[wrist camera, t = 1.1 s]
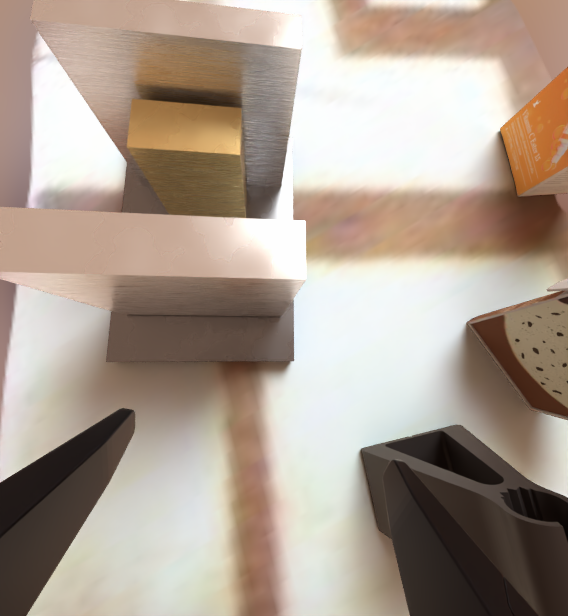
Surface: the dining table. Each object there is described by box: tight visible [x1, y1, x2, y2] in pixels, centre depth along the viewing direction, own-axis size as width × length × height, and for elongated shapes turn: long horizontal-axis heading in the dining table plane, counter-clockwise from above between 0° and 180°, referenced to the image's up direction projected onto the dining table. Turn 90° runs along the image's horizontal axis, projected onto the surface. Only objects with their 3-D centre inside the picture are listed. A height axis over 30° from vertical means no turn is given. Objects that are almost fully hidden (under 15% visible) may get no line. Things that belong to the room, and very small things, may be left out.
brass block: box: [127, 99, 247, 218], centre depth 19 cm, size 3×6×8 cm, turn 90°
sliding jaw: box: [0, 207, 306, 316], centre depth 16 cm, size 2×12×11 cm, turn 90°
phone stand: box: [362, 425, 568, 616], centre depth 17 cm, size 9×6×12 cm, turn 100°
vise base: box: [30, 0, 302, 362], centre depth 18 cm, size 20×14×12 cm
